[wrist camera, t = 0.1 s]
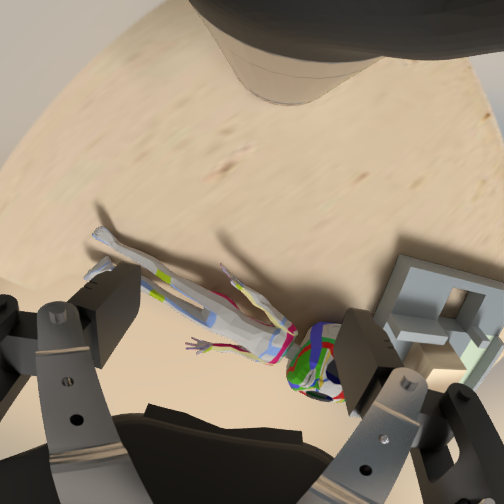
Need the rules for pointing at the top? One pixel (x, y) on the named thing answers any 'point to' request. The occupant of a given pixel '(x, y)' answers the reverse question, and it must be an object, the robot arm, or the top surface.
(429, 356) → the block
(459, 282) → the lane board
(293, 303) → the top surface
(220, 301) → the toy
